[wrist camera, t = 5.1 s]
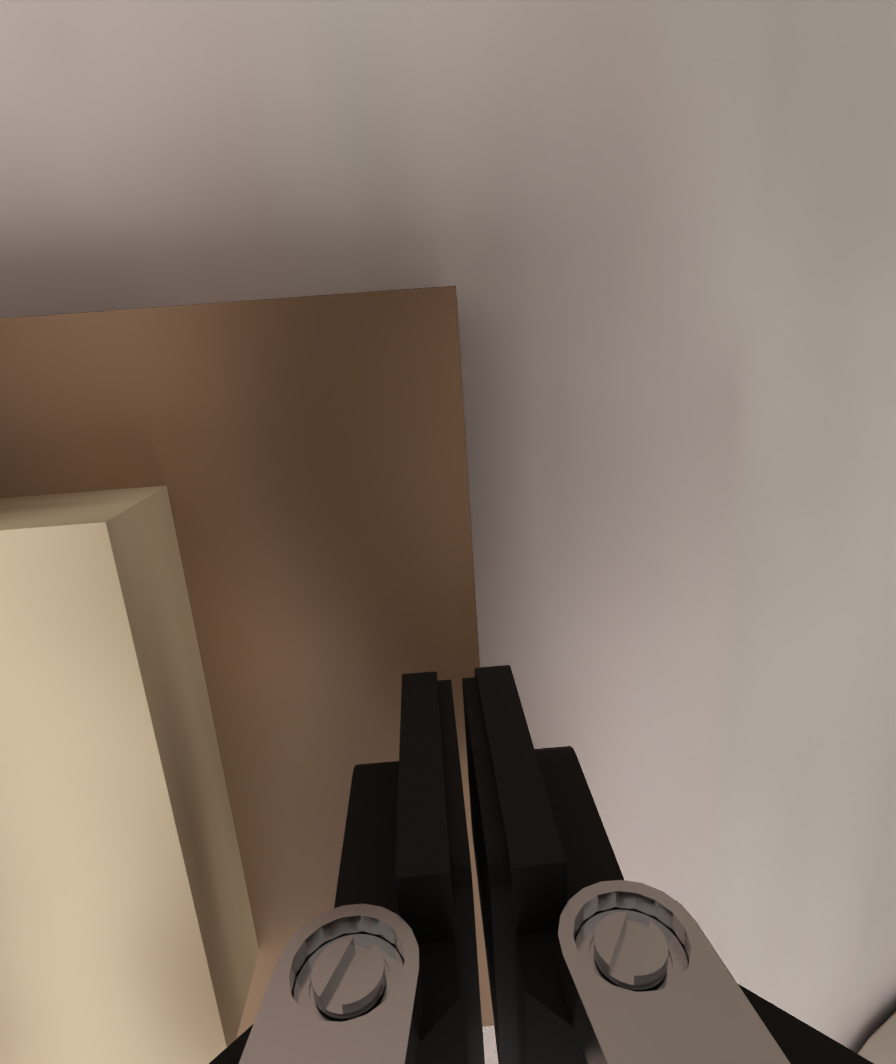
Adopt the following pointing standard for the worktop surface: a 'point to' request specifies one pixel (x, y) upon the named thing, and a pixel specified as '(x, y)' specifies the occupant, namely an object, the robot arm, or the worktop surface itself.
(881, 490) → the worktop surface
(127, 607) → the coaster
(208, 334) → the step block
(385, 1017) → the robot arm
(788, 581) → the worktop surface
